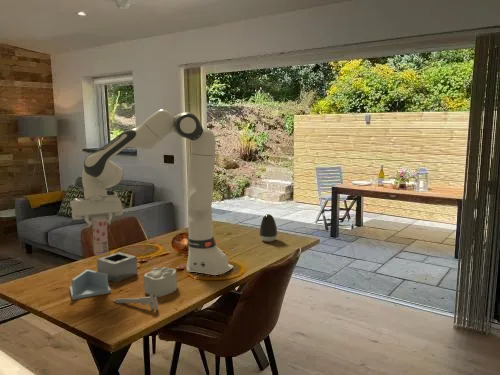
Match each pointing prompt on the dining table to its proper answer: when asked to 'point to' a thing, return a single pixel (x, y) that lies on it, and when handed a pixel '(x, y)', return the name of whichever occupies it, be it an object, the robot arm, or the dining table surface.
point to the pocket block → (117, 266)
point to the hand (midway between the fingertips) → (99, 225)
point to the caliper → (140, 301)
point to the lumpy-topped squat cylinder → (160, 281)
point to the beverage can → (100, 236)
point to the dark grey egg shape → (268, 228)
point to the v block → (89, 284)
